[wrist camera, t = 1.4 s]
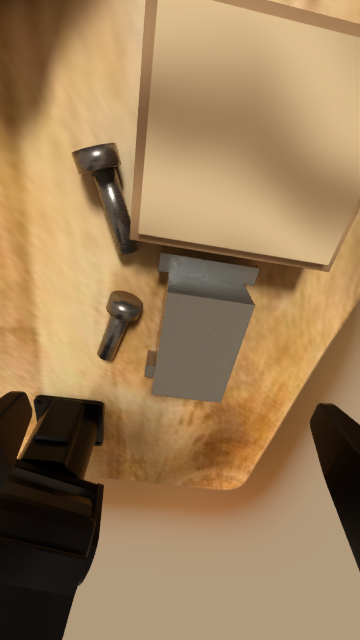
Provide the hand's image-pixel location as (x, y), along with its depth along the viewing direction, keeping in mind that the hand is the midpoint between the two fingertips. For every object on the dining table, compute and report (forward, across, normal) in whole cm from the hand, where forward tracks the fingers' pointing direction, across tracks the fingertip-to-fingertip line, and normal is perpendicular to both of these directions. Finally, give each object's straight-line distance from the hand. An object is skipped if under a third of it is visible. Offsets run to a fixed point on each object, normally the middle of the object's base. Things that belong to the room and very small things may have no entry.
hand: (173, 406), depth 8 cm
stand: (+13, -4, -7) cm, 15 cm away
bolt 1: (+12, +4, -4) cm, 14 cm away
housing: (+12, -1, +4) cm, 13 cm away
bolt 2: (+12, +5, +5) cm, 14 cm away
